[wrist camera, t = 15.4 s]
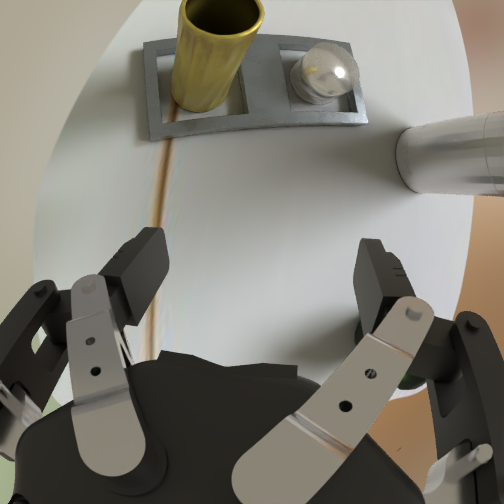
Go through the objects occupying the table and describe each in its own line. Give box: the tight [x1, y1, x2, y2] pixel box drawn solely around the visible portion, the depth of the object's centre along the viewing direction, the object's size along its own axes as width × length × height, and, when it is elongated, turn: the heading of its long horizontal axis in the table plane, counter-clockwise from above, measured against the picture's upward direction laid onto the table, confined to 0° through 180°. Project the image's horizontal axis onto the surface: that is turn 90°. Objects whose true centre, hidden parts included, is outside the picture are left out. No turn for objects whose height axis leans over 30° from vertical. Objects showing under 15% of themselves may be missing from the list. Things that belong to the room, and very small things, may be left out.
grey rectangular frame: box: [143, 34, 368, 142], centre depth 26 cm, size 24×11×5 cm, turn 99°
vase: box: [170, 0, 265, 112], centre depth 20 cm, size 6×6×14 cm
